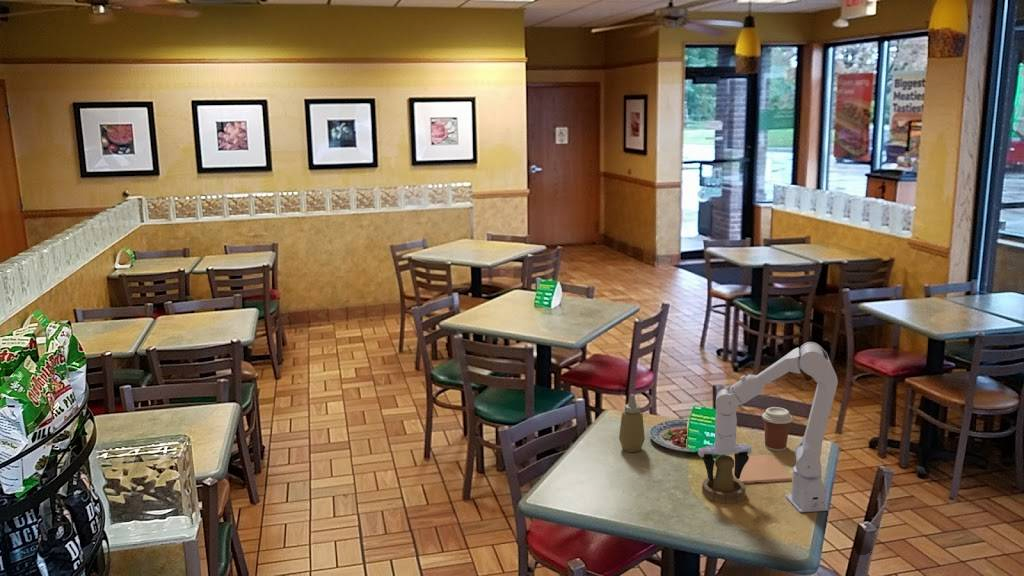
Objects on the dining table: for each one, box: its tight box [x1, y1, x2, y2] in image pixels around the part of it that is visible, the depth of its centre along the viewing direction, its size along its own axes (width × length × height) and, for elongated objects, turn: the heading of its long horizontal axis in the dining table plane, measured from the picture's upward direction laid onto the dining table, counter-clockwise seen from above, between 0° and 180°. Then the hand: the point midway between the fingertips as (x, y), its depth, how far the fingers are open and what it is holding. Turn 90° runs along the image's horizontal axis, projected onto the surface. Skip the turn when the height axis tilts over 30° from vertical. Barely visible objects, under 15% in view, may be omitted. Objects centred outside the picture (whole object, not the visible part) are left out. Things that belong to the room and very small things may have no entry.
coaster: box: [731, 454, 793, 485], centre depth 243 cm, size 16×16×1 cm
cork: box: [712, 455, 735, 493], centre depth 228 cm, size 6×6×11 cm
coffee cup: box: [761, 406, 793, 452], centre depth 257 cm, size 9×9×12 cm
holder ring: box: [701, 475, 747, 504], centre depth 229 cm, size 11×11×2 cm
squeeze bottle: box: [618, 393, 645, 453], centre depth 257 cm, size 8×8×18 cm
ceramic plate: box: [648, 418, 697, 453], centre depth 265 cm, size 26×26×3 cm
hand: (723, 478), depth 228 cm, fingers open, 7 cm apart
